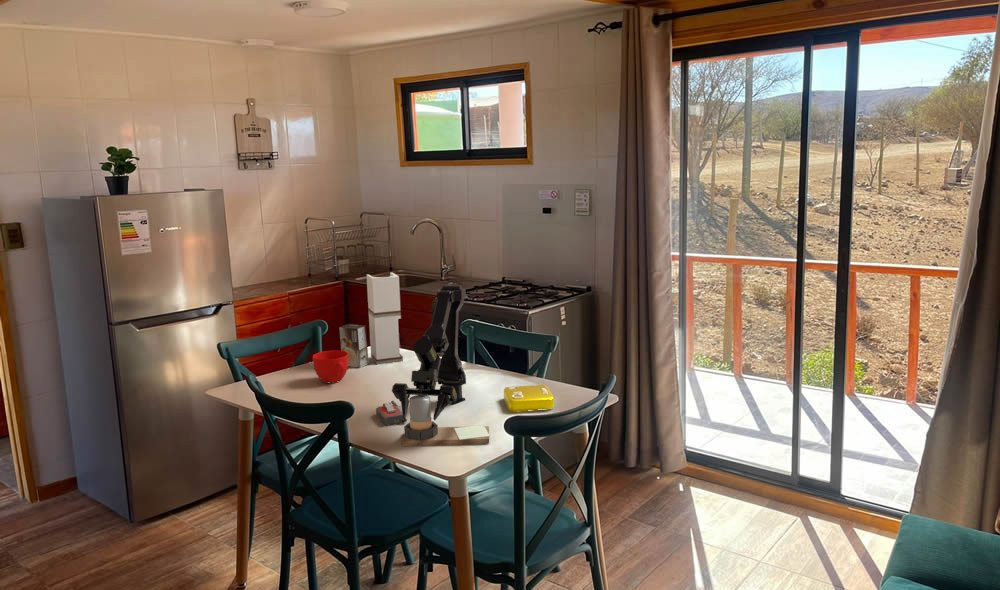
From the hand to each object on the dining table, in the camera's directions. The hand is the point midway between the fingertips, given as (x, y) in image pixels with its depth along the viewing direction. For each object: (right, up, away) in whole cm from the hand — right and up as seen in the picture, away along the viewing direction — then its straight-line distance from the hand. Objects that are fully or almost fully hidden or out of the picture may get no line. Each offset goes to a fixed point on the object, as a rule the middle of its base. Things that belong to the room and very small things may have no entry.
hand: (419, 418), depth 214 cm
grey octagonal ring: (0, -5, +2) cm, 5 cm away
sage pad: (+15, -4, +3) cm, 16 cm away
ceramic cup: (-38, +3, +59) cm, 71 cm away
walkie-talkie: (-12, -3, +23) cm, 26 cm away
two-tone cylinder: (0, -5, +2) cm, 5 cm away
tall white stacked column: (-23, +9, +88) cm, 92 cm away
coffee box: (-35, +8, +81) cm, 89 cm away
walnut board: (+8, -6, +3) cm, 10 cm away
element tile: (+33, -1, +31) cm, 45 cm away
